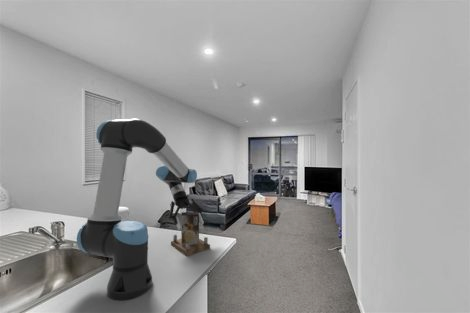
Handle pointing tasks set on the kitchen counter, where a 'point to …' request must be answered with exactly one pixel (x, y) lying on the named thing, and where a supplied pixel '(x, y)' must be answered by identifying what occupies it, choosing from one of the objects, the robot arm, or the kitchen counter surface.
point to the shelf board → (190, 246)
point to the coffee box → (189, 228)
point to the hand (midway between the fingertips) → (191, 226)
